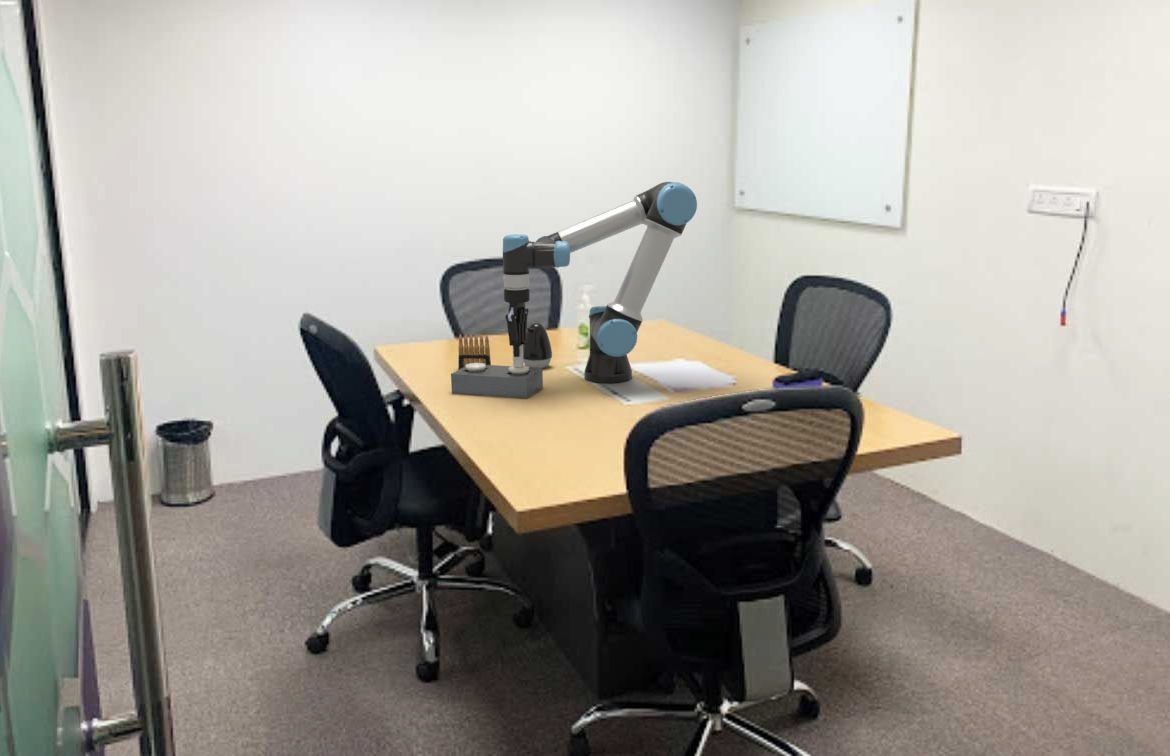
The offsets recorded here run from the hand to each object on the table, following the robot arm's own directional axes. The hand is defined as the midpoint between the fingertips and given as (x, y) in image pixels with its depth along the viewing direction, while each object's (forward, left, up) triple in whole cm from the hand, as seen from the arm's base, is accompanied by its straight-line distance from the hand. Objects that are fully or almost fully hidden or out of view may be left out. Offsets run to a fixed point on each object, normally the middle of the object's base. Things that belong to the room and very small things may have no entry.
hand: (518, 366), depth 280 cm
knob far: (+14, 0, -7) cm, 16 cm away
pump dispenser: (+6, -32, -8) cm, 34 cm away
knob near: (0, 0, -7) cm, 7 cm away
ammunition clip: (+25, -24, -8) cm, 36 cm away
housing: (+7, 0, -8) cm, 10 cm away
